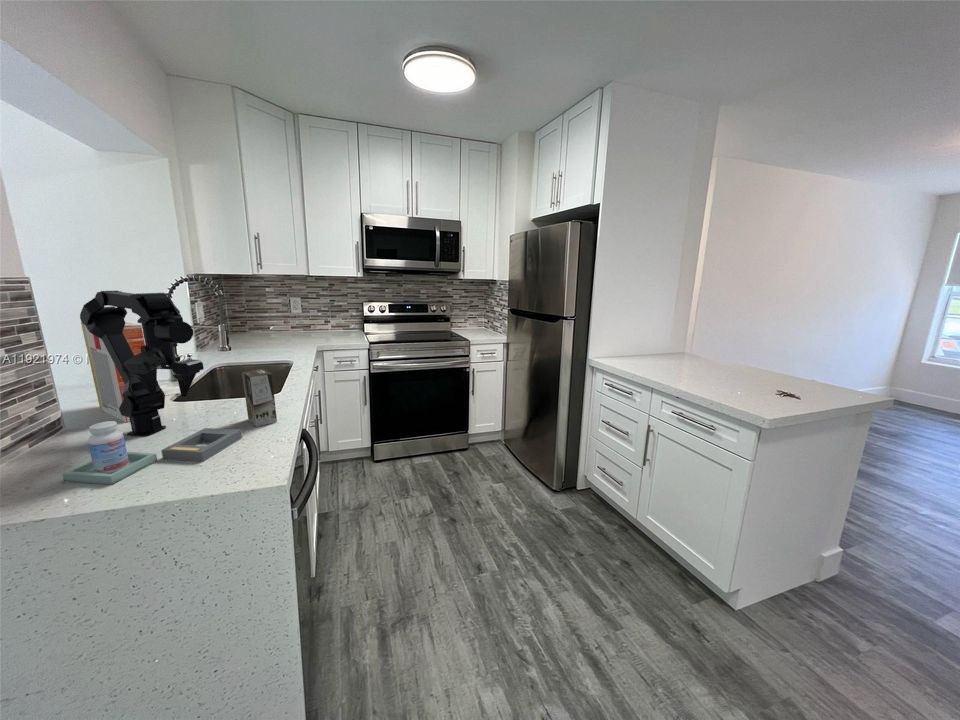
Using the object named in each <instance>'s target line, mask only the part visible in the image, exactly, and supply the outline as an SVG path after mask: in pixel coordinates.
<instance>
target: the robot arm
mask: <svg viewBox="0 0 960 720" xmlns="http://www.w3.org/2000/svg"><path fill="white" fill-rule="evenodd" d="M126 309H129V310H131V313H133V314H135V315H138V317H139V318H138V319H137V321H136V322H137V324H140V325H141V326H142V332H143V337H144V342H145V345H143V346H141V353H139V354H137V355H134V353H133V351H132V350H131V348H130V346H129V344H128V342H127V340H126V338H125V336H124V334H123V329H124V326H125V322H126V321H125V318H126V316H127V315H128V311H127V310H126ZM79 319H80V323H81V322H82V323H83V324H84V325H85V326H86V327H87V329H88V330H89V332H90V333H92V334H94V335H95V336H97V337H99V338H101V339H102V341H103V343H104V345H105V347H106V349H107V350H108V352H109V354H110V356H111V358H112V360H113V362H114V364H115V366H116V368H117V370H118V372H119V374H120V376H121V377H122V379H123V381H124V383H125V386H124V389H123V393H122V396H123V398H124V399H123V401H122V403H121V405H120V407H119V410H120V413H121V415H122V416H126V417H129V418H130V422H129V423H130V427H131V431H129V432H127V433H126V435H127V436H138V437H139V436H140V437H141V436H143V437H148V436H150V435H153V434H155V433H157V432H159V431H162V430H164V429H166V428H167V425H162V420H161V415H159V410H163V409H165V405H166V403H165V400H166V394H165V392H164V391H163V389H162V387H161V385H160V384H159V382H158V379H157V378H158V377H157V376H158V375H157V374H158V370H172V372H173V373H174V374H172V377H173V378H175V379H176V380H177V383H178V387H179V391H180V395H181V397H182V398H185V397H187V395H188V394H189V391H190V389H191V386H192V383H193V381H194V379H195V377H196V375H197V374H198V373H200V372H201V371H203V370H204V368H205V367H204V362H203V361H202V360H200V359H190V358H189V359H184V360H181V358H180V356H176V352H175V347H176V348H177V347H178V344H186V343H188V342H190V341H191V340H192V339H193V336H194V329H193V328H192V326H191V325H190V324H189V323H188V322H186V321H184V319H183V317H182V314H181V310H179V308H178V307H177V306H176V304H175V303H174V301H173V300H172V299H171V298H170V297H169V296H168V294H167V293H165V292H147V293H146V292H143V293H142V292H141V293H133V292H124V291H121V290H120V291H119V290H100V291H98V292H96V294H95V296H94V297H93V298H92V299H91V300H88V302H86V303H85V304H83V306H82V309H81V311H80V314H79Z"/></svg>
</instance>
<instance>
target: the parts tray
mask: <svg viewBox="0 0 960 720" xmlns="http://www.w3.org/2000/svg"><path fill="white" fill-rule="evenodd" d="M127 455H128V459H129V465H128V466H126V467H124V468H122V469H120V470H118V471H116V472H113V473H109V474H105V473H95V472H94V469H93V464H92V459H91V460H89V461H86V462H84V463H83V464H81V465H80V464H79V465H77V466H75V467H74V468H71V469H69V470H67V471H65V472H62V473H61V475H62V478H63V482H65V481H68V483H81V484H98V485H99V484H100V485H115V484H116V483H117V484H118V482H121V481H122V480H124V479H126V478H128V477H130V476H132V475H134V474H135V473H138V472H139V471H142V470H143V469H145V468H148V466H151V465H152V464H155V463H156V462H158V456H157V453H151V452H149V453H148V452H133V451H127Z"/></svg>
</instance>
